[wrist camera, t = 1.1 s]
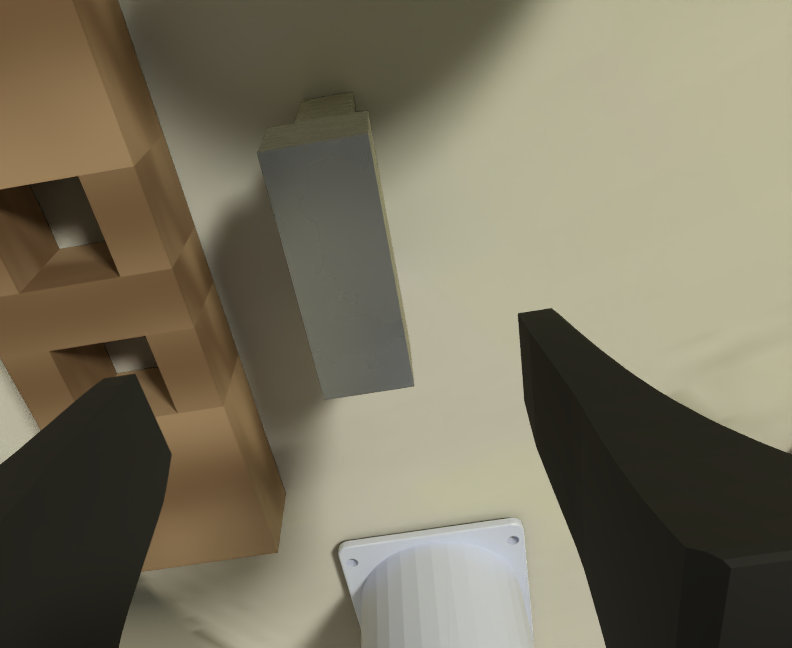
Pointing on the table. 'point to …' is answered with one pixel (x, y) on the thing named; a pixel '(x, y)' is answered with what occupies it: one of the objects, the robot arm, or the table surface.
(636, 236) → the table surface
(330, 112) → the grey block
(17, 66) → the brown slotted holder
